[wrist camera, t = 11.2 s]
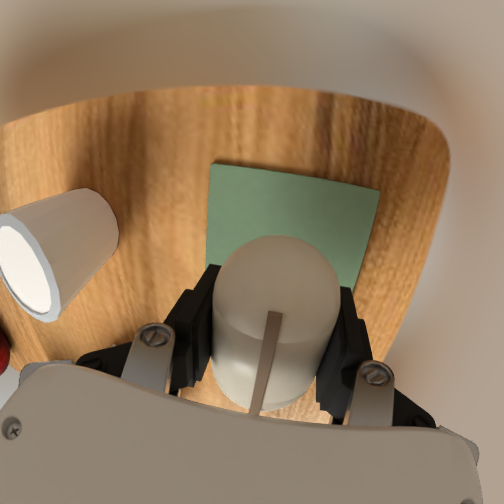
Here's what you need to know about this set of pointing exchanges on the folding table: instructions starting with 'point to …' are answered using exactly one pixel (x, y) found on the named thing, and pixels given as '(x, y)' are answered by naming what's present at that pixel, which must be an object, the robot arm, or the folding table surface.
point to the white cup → (55, 249)
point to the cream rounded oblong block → (272, 321)
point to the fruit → (4, 352)
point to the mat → (289, 214)
